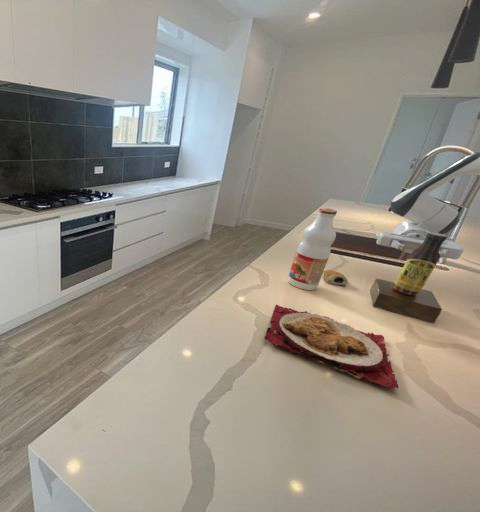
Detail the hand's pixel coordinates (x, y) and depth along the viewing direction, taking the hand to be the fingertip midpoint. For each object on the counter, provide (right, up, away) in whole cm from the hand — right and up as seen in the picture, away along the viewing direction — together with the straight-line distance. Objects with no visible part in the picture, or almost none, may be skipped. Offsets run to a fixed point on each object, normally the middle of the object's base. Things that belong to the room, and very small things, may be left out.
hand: (420, 251), depth 95 cm
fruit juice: (-29, -12, +14) cm, 34 cm away
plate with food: (-44, -24, -17) cm, 53 cm away
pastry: (-14, -11, +18) cm, 25 cm away
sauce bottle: (-4, -13, +1) cm, 14 cm away
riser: (-4, -18, +2) cm, 19 cm away
